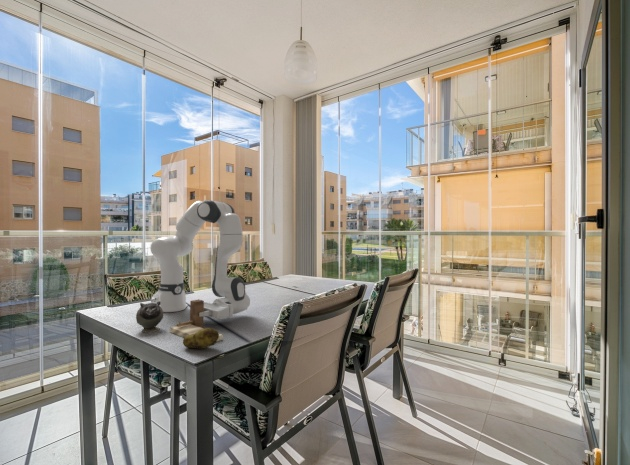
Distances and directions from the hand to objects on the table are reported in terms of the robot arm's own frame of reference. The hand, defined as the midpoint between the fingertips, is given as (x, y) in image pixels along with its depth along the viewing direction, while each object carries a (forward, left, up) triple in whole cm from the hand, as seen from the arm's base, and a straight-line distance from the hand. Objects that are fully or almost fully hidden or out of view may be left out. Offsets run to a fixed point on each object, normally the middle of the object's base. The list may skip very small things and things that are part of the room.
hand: (195, 313), depth 140 cm
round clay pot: (-12, -14, -7) cm, 19 cm away
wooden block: (0, -3, -6) cm, 7 cm away
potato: (+23, -13, -7) cm, 27 cm away
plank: (+9, -6, -7) cm, 12 cm away
